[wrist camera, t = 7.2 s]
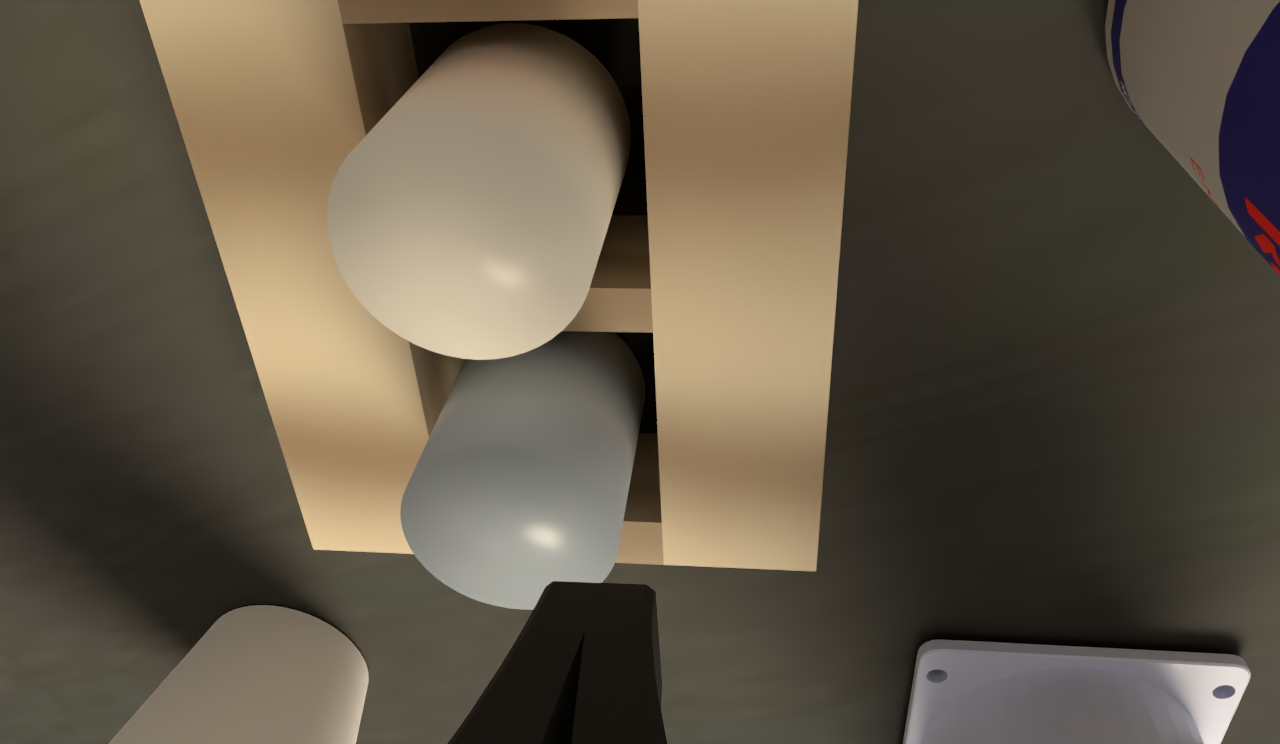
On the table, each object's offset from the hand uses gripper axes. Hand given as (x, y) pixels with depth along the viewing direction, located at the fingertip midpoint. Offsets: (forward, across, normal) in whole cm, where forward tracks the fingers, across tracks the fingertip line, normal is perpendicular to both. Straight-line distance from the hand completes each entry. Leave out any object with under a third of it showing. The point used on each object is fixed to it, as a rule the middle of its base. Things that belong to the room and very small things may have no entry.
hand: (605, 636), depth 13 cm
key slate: (+8, +2, +2) cm, 8 cm away
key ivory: (+8, +2, -4) cm, 9 cm away
